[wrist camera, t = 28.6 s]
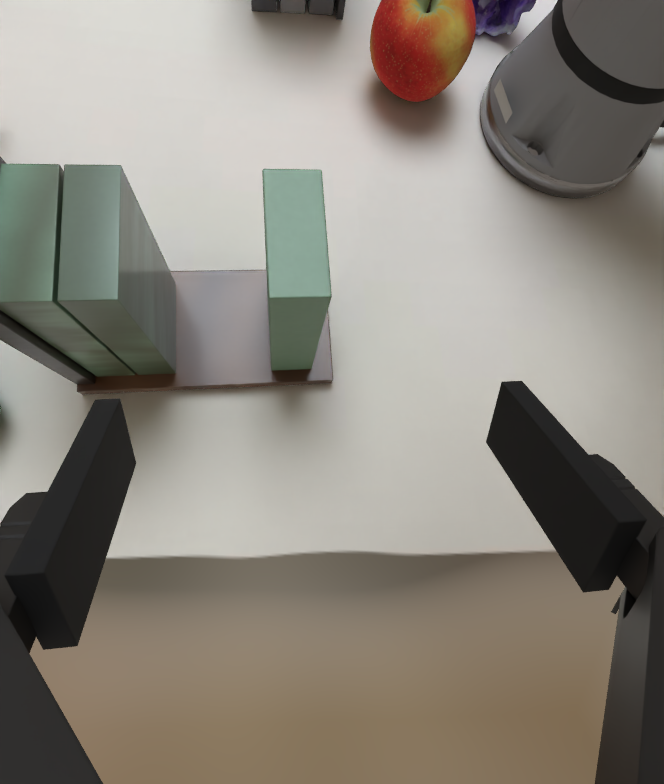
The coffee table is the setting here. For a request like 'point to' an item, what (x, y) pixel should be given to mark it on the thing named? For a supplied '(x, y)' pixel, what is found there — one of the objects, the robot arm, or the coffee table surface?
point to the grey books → (301, 6)
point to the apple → (421, 44)
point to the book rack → (124, 293)
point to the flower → (499, 15)
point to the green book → (295, 265)
